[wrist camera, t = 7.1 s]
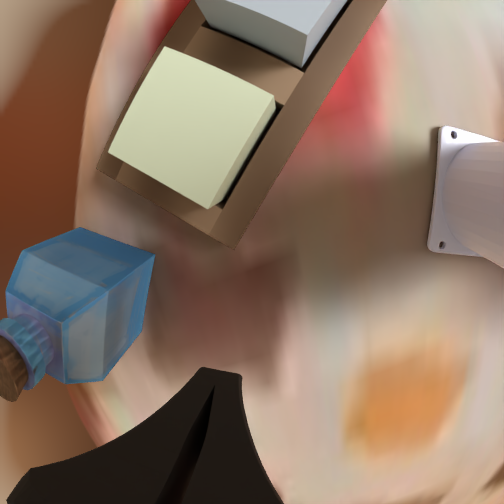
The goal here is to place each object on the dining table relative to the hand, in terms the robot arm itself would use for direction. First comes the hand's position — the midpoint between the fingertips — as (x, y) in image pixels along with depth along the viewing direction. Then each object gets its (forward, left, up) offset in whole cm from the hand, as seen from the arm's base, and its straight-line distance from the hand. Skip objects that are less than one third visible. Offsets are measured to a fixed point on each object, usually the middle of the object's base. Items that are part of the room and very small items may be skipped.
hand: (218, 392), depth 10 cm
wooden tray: (-1, -16, -10) cm, 19 cm away
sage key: (+3, -9, -9) cm, 13 cm away
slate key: (-1, -16, -8) cm, 18 cm away
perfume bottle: (+10, +1, -11) cm, 15 cm away
